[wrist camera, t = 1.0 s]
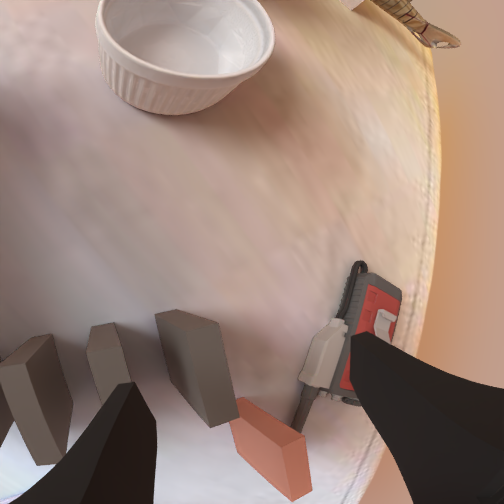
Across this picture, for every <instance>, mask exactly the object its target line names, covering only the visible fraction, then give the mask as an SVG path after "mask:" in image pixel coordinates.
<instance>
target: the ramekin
mask: <svg viewBox="0 0 504 504" xmlns="http://www.w3.org/2000/svg"><path fill="white" fill-rule="evenodd" d="M95 28H96V34H97V38H98V52H99V62H100V67H101V71H102V74H103V76H104V78H105V81H106V82H107V84H108V85H109V87H110V88H111V89H112V90H113V91H114V92H115V94H116V95H118V96H119V97H120V98H121V99H122V100H124V101H126V102H127V103H129V104H130V105H133V106H135V107H137V108H139V109H142V110H145V111H147V112H153V113H156V114H165V115H181V114H189V113H194V112H198V111H200V110H203V109H206V108H207V107H209V106H212V105H214V104H215V103H217V102H218V101H220V100H221V99H223V98H224V97H225V96H226V95H228V94H229V93H230V92H231V91H232V90H233V89H235V88H236V87H237V86H238V85H239V84H240V83H241V82H243V81H245V80H247V79H249V78H250V77H252V76H253V75H255V74H256V73H257V72H258V71H259V70H260V69H261V68H262V67H263V66H264V64H265V63H266V62H267V61H268V59H269V58H270V56H271V55H272V52H273V50H274V47H275V40H276V39H275V30H274V27H273V24H272V21H271V19H270V17H269V15H268V14H267V12H266V11H265V9H264V8H263V6H262V5H261V4H260V3H259V2H258V1H257V0H100V3H99V6H98V10H97V14H96V20H95Z"/></svg>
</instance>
